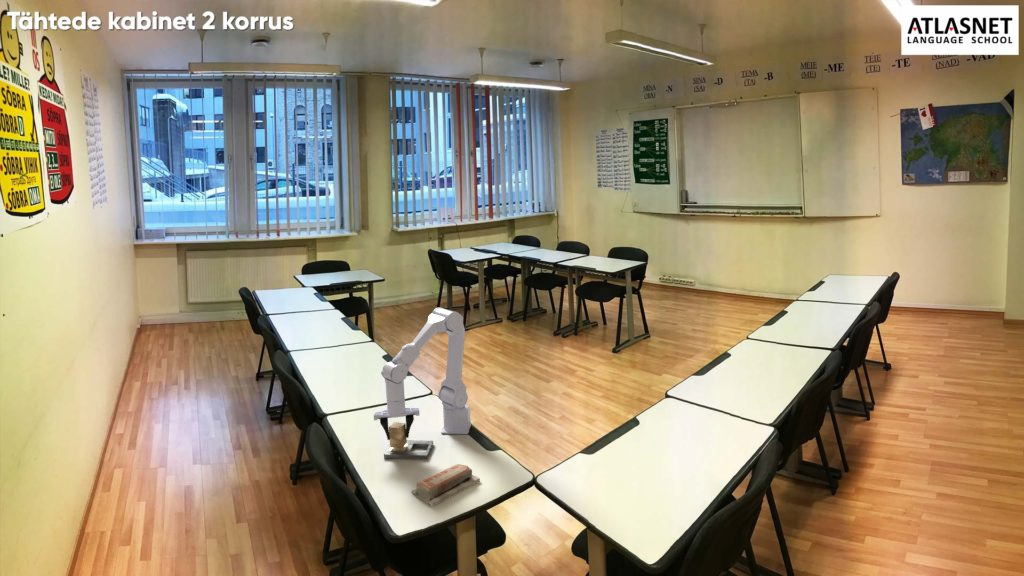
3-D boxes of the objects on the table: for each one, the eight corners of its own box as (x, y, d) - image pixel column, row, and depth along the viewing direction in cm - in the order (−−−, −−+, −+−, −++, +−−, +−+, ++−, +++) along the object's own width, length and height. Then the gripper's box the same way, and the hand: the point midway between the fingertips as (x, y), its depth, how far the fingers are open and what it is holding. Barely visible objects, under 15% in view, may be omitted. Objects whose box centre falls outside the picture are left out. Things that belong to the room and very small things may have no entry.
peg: (406, 442, 196) (405, 423, 195) (401, 448, 192) (400, 428, 191) (395, 441, 197) (394, 421, 196) (390, 447, 193) (388, 427, 192)
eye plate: (433, 444, 200) (433, 440, 199) (427, 459, 190) (426, 455, 189) (392, 443, 201) (392, 439, 200) (384, 458, 191) (383, 454, 191)
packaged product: (431, 492, 163) (410, 479, 170) (432, 508, 164) (411, 494, 171) (480, 468, 176) (458, 456, 182) (480, 483, 177) (458, 471, 183)
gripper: (417, 391, 197) (419, 429, 200) (372, 396, 194) (375, 434, 197) (419, 399, 190) (421, 439, 193) (372, 404, 187) (375, 444, 190)
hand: (398, 437), depth 194 cm, fingers closed on peg, 5 cm apart
